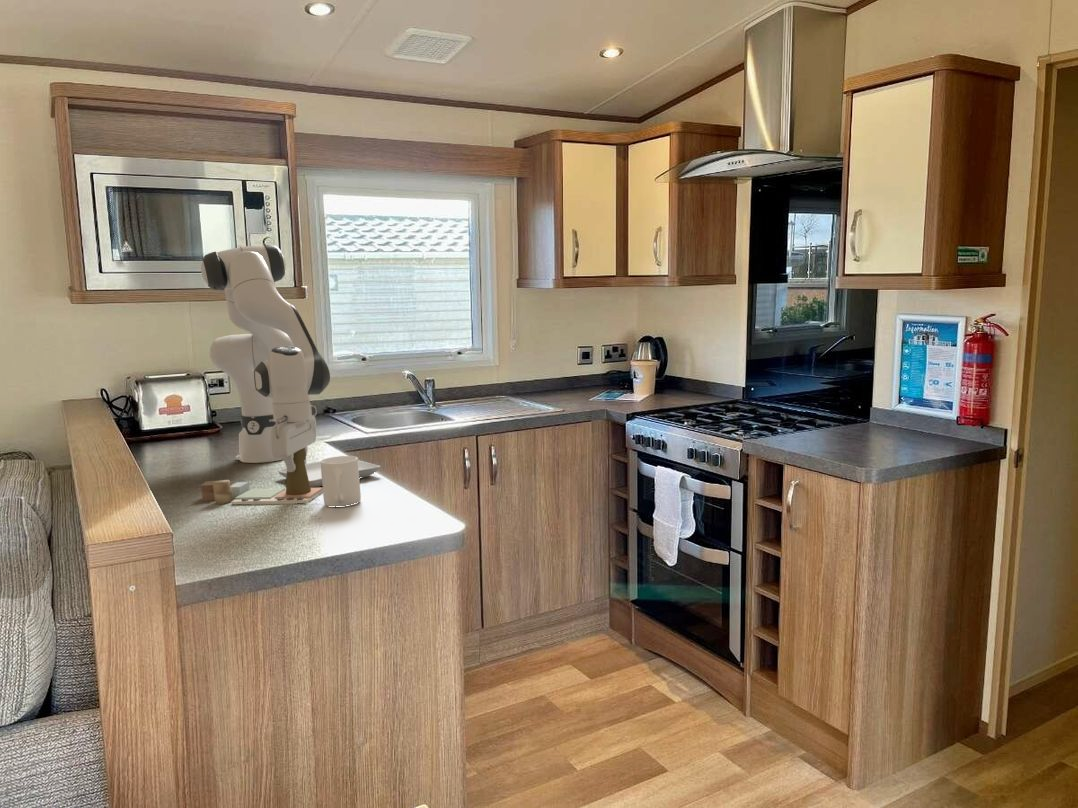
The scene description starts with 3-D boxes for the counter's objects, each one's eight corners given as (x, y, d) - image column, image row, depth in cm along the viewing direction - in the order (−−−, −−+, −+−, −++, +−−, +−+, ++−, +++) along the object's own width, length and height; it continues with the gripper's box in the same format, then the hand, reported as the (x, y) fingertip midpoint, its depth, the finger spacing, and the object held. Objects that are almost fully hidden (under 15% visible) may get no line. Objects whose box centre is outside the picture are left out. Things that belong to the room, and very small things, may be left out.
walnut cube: (206, 497, 204) (205, 481, 203) (223, 495, 204) (221, 480, 204) (202, 500, 200) (201, 485, 199) (219, 499, 200) (217, 484, 200)
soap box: (238, 493, 206) (237, 482, 206) (249, 493, 206) (248, 482, 205) (229, 498, 201) (228, 487, 201) (240, 498, 201) (239, 486, 200)
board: (252, 493, 205) (251, 488, 205) (323, 491, 203) (323, 487, 203) (231, 504, 194) (231, 500, 194) (306, 503, 192) (306, 498, 192)
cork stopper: (223, 499, 200) (220, 479, 199) (236, 499, 199) (233, 480, 198) (211, 503, 196) (208, 483, 196) (224, 504, 195) (221, 484, 194)
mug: (319, 513, 183) (316, 467, 181) (326, 500, 194) (322, 457, 193) (358, 510, 184) (354, 465, 182) (362, 497, 195) (359, 454, 194)
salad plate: (276, 480, 220) (275, 468, 219) (347, 467, 233) (346, 455, 233) (309, 493, 204) (308, 480, 203) (383, 478, 217) (382, 465, 216)
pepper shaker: (316, 490, 199) (312, 447, 198) (296, 496, 195) (291, 452, 193) (300, 488, 203) (297, 445, 201) (280, 493, 198) (276, 450, 197)
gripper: (288, 419, 185) (293, 477, 187) (318, 406, 206) (323, 459, 208) (261, 420, 186) (267, 478, 188) (295, 407, 206) (299, 459, 208)
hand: (296, 468), depth 198 cm, fingers open, 5 cm apart
